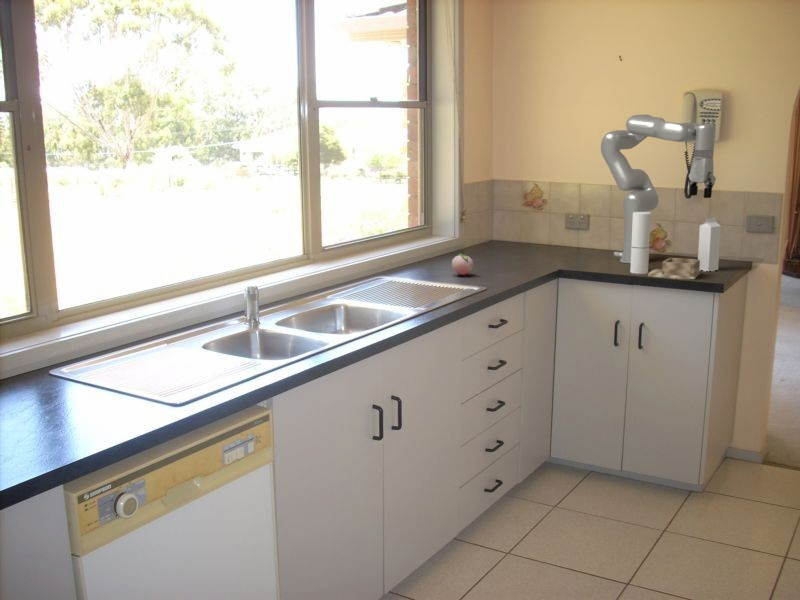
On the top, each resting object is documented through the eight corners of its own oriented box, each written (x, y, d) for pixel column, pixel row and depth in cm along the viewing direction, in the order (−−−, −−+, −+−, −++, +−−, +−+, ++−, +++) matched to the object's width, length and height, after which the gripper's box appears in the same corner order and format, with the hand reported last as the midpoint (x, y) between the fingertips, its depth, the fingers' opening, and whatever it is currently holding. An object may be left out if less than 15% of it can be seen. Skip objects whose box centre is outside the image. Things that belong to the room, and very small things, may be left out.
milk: (718, 270, 361) (722, 218, 356) (708, 272, 358) (711, 219, 353) (706, 268, 366) (710, 217, 361) (696, 269, 363) (700, 217, 359)
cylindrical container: (649, 271, 361) (652, 212, 356) (646, 274, 355) (649, 214, 349) (631, 270, 364) (634, 211, 359) (628, 273, 358) (631, 213, 352)
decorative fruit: (448, 275, 359) (448, 251, 357) (465, 273, 362) (465, 250, 360) (458, 278, 351) (458, 254, 349) (476, 277, 354) (476, 253, 352)
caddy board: (648, 276, 350) (648, 261, 349) (655, 271, 361) (656, 256, 360) (693, 279, 342) (694, 264, 340) (699, 274, 353) (700, 259, 351)
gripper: (683, 153, 358) (680, 194, 362) (708, 156, 342) (704, 199, 346) (699, 153, 360) (695, 194, 364) (724, 155, 344) (721, 198, 348)
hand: (700, 196), depth 355 cm, fingers open, 9 cm apart
